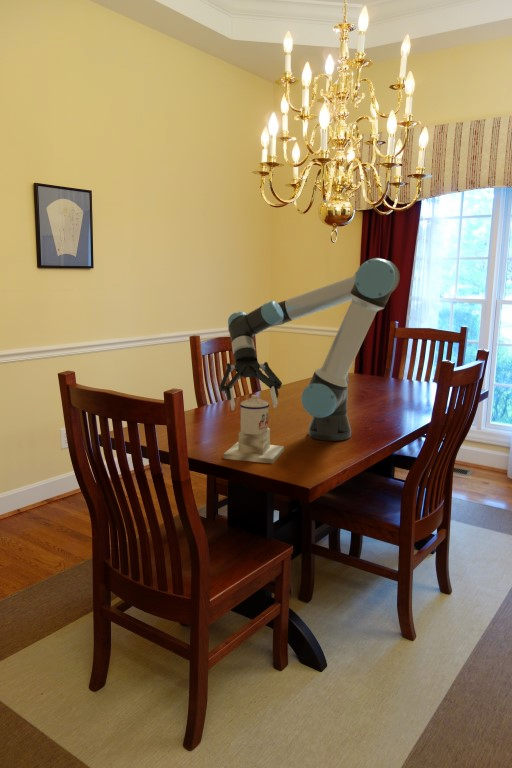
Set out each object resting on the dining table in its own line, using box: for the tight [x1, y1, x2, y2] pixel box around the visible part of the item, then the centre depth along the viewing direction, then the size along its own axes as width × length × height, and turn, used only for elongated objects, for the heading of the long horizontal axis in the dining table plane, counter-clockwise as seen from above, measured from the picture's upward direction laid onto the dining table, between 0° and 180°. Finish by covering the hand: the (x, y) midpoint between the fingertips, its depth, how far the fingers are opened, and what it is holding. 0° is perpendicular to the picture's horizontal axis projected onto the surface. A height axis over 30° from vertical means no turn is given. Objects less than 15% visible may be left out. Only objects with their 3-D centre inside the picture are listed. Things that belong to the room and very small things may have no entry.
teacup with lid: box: [239, 394, 270, 435], centre depth 183 cm, size 12×9×12 cm
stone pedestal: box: [222, 427, 285, 465], centre depth 185 cm, size 16×14×8 cm
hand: (254, 407), depth 182 cm, fingers open, 13 cm apart
